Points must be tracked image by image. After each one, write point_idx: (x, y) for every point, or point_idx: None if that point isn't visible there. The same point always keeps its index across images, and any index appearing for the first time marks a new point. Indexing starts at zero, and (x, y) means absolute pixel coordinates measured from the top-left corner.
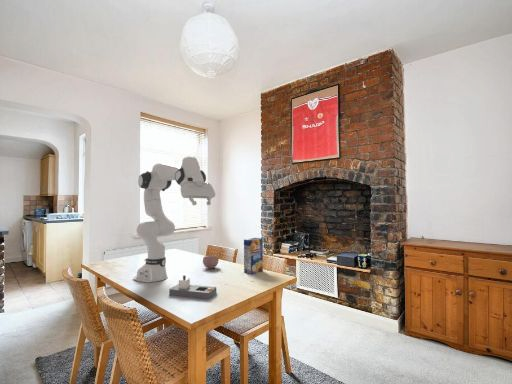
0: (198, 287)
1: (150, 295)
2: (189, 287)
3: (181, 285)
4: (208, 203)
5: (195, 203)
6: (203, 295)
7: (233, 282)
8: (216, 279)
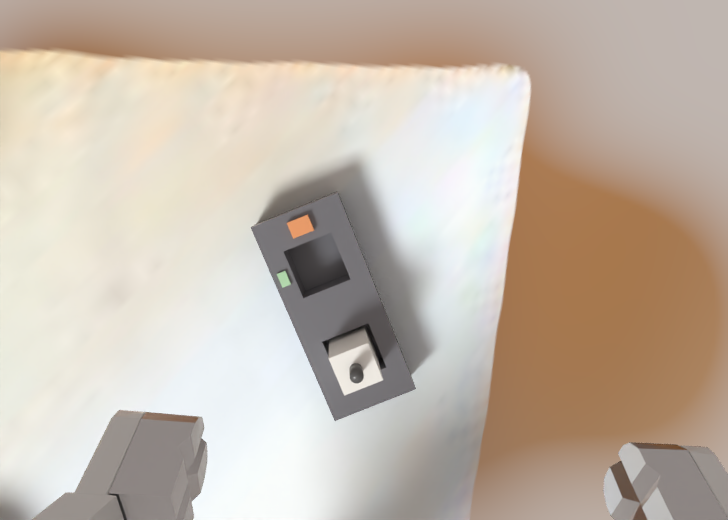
0: (312, 296)
1: (452, 449)
2: (340, 332)
3: (375, 356)
4: (196, 435)
5: (678, 450)
6: (347, 217)
7: (67, 283)
8: (95, 395)
